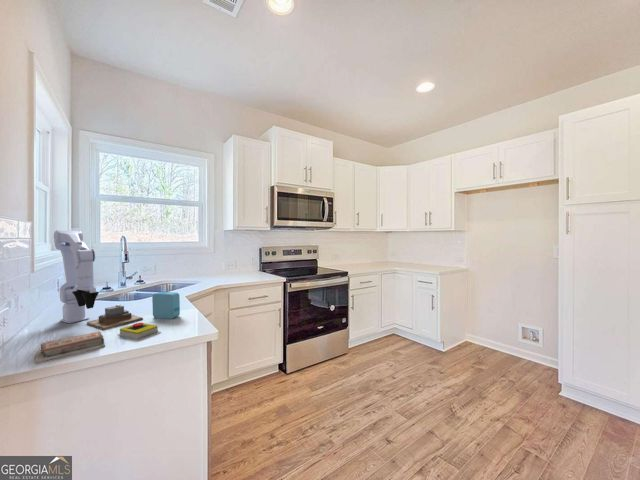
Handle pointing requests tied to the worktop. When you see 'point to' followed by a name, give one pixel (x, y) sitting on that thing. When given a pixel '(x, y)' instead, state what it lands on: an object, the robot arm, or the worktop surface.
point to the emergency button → (139, 331)
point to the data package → (166, 305)
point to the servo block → (114, 311)
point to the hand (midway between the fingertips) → (85, 307)
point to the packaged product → (69, 346)
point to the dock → (114, 321)
